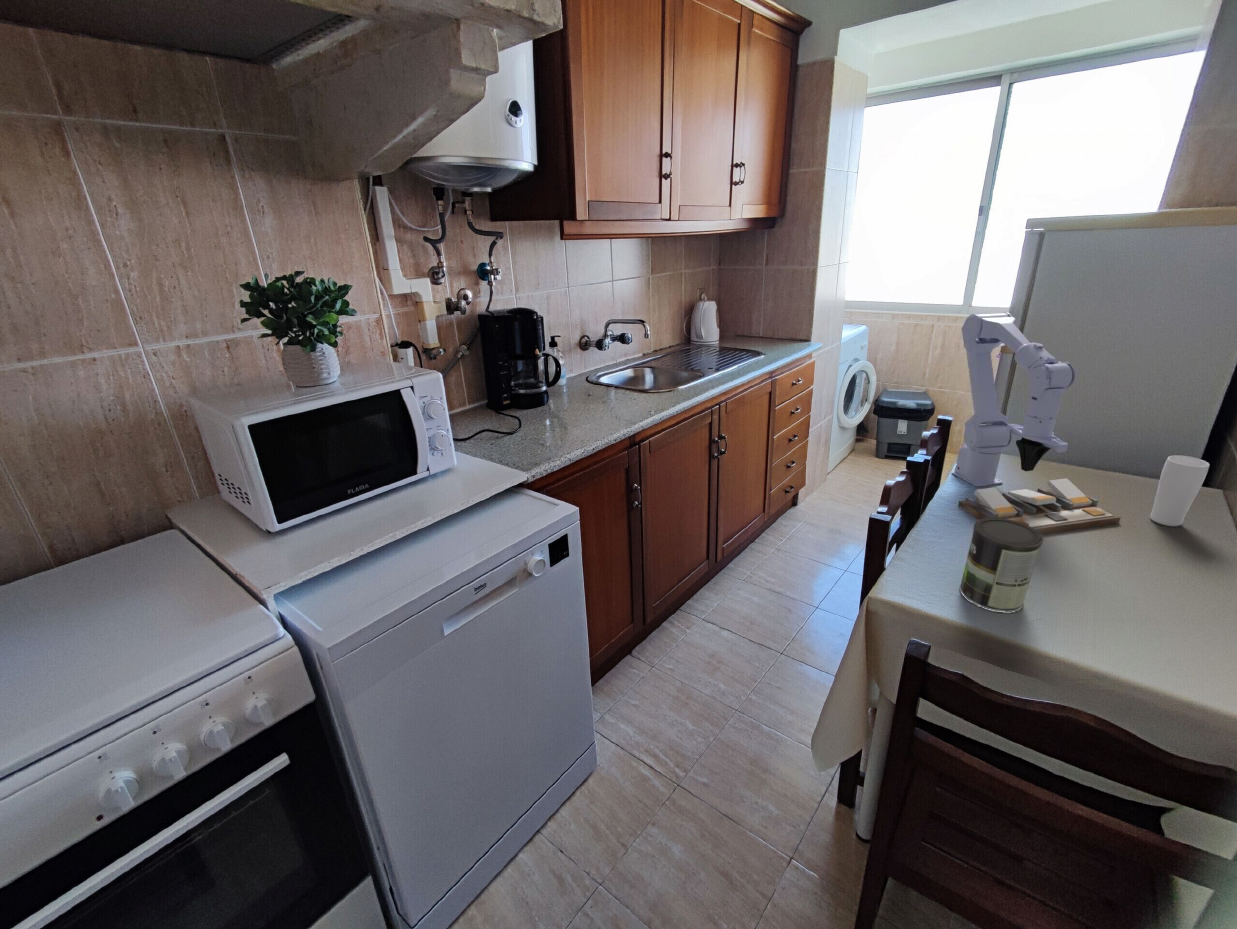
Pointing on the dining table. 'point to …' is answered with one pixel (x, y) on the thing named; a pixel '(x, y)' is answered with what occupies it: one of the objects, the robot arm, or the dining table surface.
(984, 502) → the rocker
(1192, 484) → the drinking glass
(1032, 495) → the rocker middle
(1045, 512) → the switch board
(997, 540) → the coffee can
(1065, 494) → the rocker
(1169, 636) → the dining table surface
